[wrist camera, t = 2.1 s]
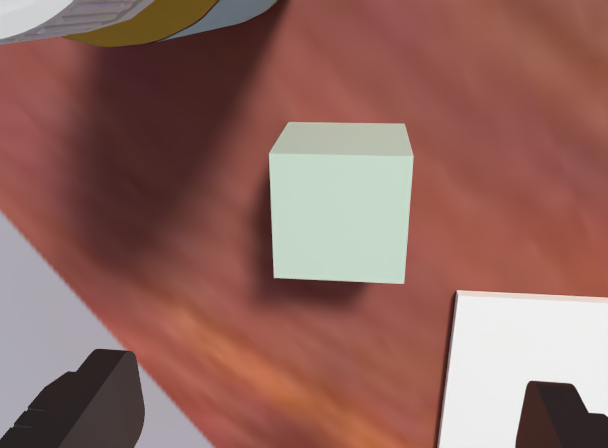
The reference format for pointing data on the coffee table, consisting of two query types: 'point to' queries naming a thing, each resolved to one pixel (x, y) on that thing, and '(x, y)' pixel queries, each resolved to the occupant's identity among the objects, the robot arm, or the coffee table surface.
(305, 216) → the sage cube
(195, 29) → the bottle
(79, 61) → the coffee table surface
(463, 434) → the mat
